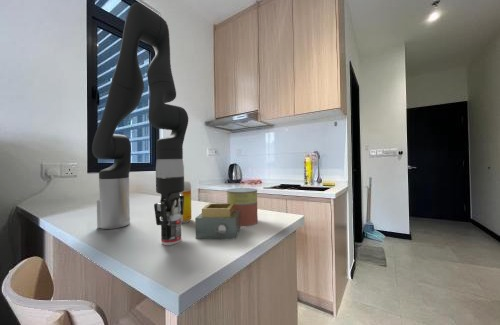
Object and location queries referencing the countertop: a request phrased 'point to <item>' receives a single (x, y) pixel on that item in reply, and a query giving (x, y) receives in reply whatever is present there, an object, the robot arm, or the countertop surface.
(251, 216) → the canned food
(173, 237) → the pill bottle
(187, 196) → the beer can
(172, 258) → the countertop surface
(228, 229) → the gold grey hollow block
